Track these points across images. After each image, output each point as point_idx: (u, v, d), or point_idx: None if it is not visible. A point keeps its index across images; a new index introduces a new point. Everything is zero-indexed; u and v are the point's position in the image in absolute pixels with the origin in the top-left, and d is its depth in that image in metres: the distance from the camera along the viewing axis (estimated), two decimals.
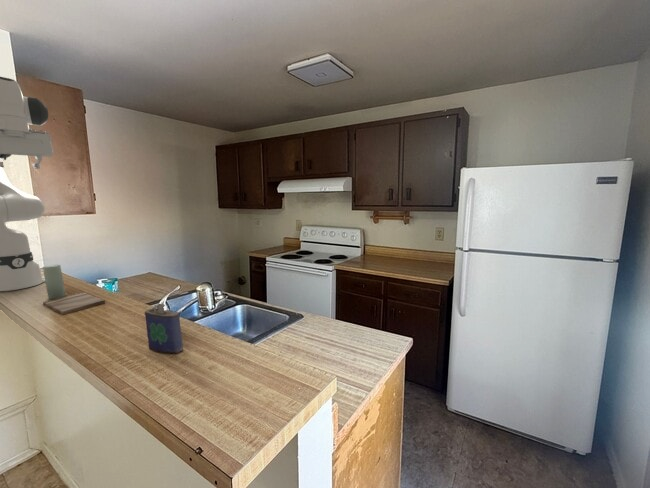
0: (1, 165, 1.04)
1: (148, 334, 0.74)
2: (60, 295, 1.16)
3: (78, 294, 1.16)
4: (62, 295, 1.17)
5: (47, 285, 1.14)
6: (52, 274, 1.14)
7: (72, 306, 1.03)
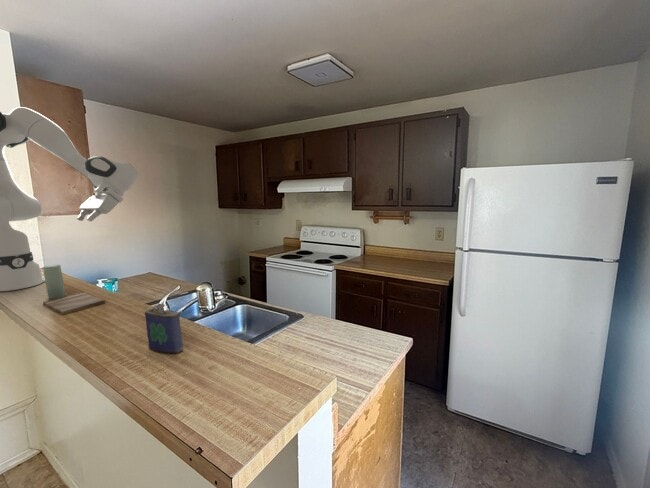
0: None
1: (148, 334, 0.74)
2: (60, 295, 1.16)
3: (78, 294, 1.16)
4: (62, 295, 1.17)
5: (47, 285, 1.14)
6: (52, 274, 1.14)
7: (72, 306, 1.03)
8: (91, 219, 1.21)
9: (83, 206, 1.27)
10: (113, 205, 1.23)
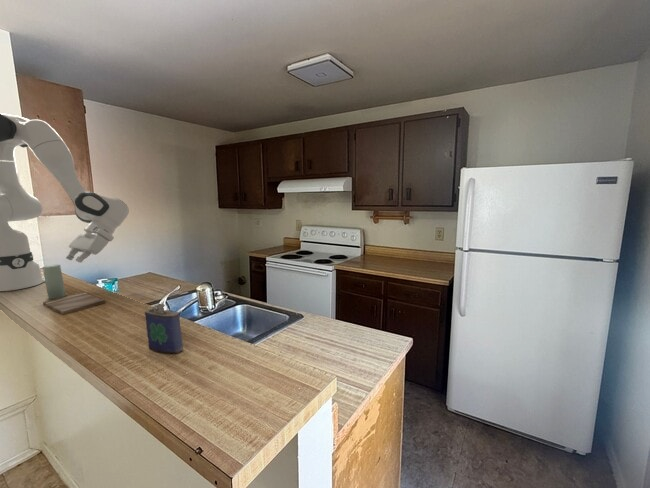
0: None
1: (148, 334, 0.74)
2: (60, 295, 1.16)
3: (78, 294, 1.16)
4: (62, 295, 1.17)
5: (47, 285, 1.14)
6: (52, 274, 1.14)
7: (72, 306, 1.03)
8: (80, 260, 1.19)
9: (73, 245, 1.25)
10: (103, 245, 1.21)
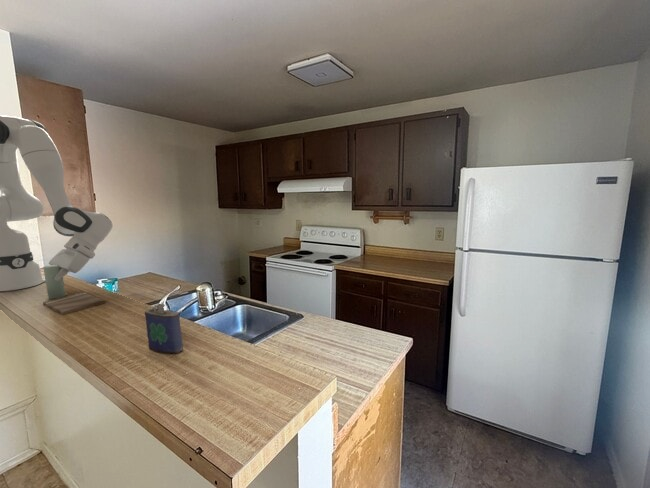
0: None
1: (148, 334, 0.74)
2: (60, 295, 1.16)
3: (78, 294, 1.16)
4: (62, 295, 1.17)
5: (47, 285, 1.14)
6: (53, 274, 1.14)
7: (72, 306, 1.03)
8: (57, 279, 1.14)
9: (52, 262, 1.20)
10: (83, 263, 1.16)
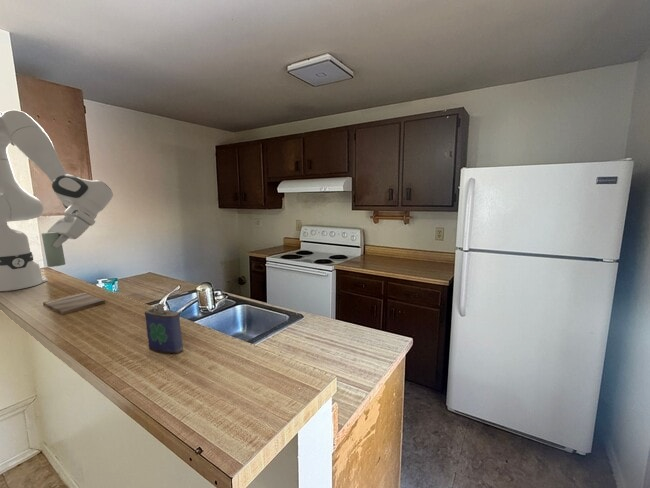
0: None
1: (148, 334, 0.74)
2: (60, 263, 1.12)
3: (78, 294, 1.16)
4: (62, 263, 1.13)
5: (46, 252, 1.10)
6: (52, 241, 1.10)
7: (72, 306, 1.03)
8: (57, 245, 1.10)
9: (51, 230, 1.16)
10: (83, 229, 1.11)
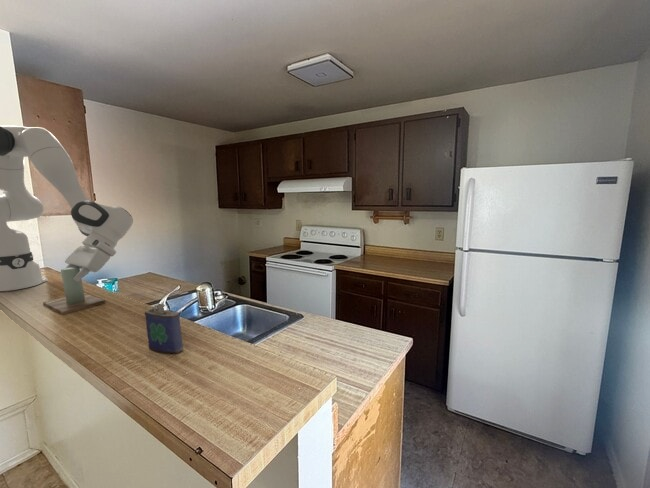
0: None
1: (148, 334, 0.74)
2: (79, 301, 1.07)
3: None
4: (81, 300, 1.07)
5: (65, 289, 1.05)
6: (71, 277, 1.04)
7: (72, 306, 1.03)
8: (78, 279, 1.03)
9: (69, 260, 1.10)
10: (104, 261, 1.06)
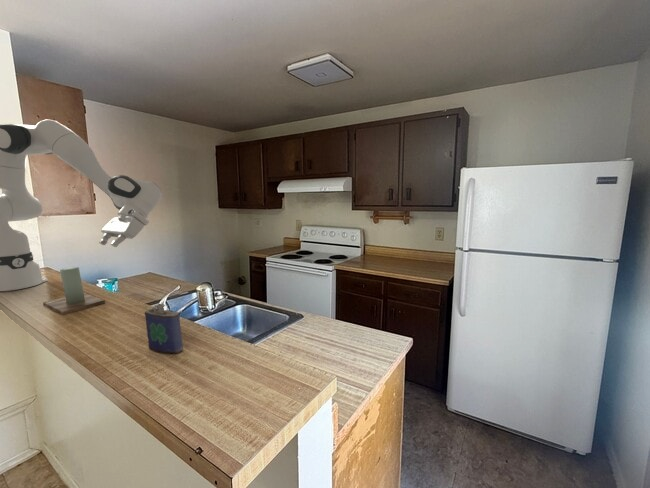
0: None
1: (148, 334, 0.74)
2: (79, 300, 1.07)
3: None
4: (81, 300, 1.07)
5: (65, 289, 1.05)
6: (71, 277, 1.04)
7: (72, 306, 1.03)
8: (116, 244, 1.12)
9: (106, 229, 1.19)
10: (139, 229, 1.14)
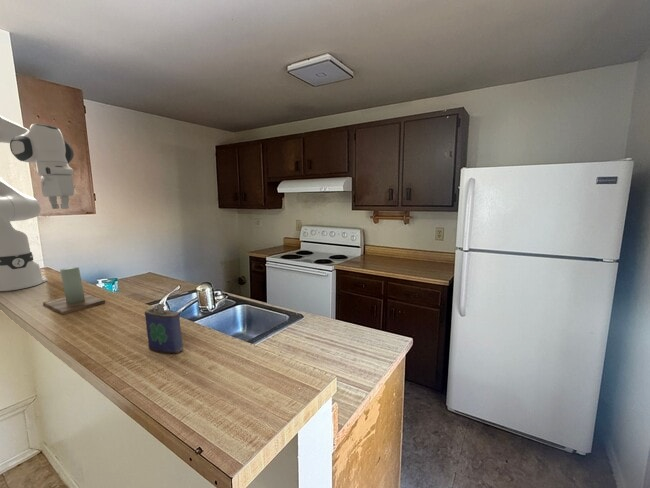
0: None
1: (148, 334, 0.74)
2: (79, 300, 1.07)
3: None
4: (81, 300, 1.07)
5: (65, 289, 1.05)
6: (71, 277, 1.04)
7: (72, 306, 1.03)
8: (66, 206, 1.12)
9: (45, 193, 1.16)
10: (71, 183, 1.09)
